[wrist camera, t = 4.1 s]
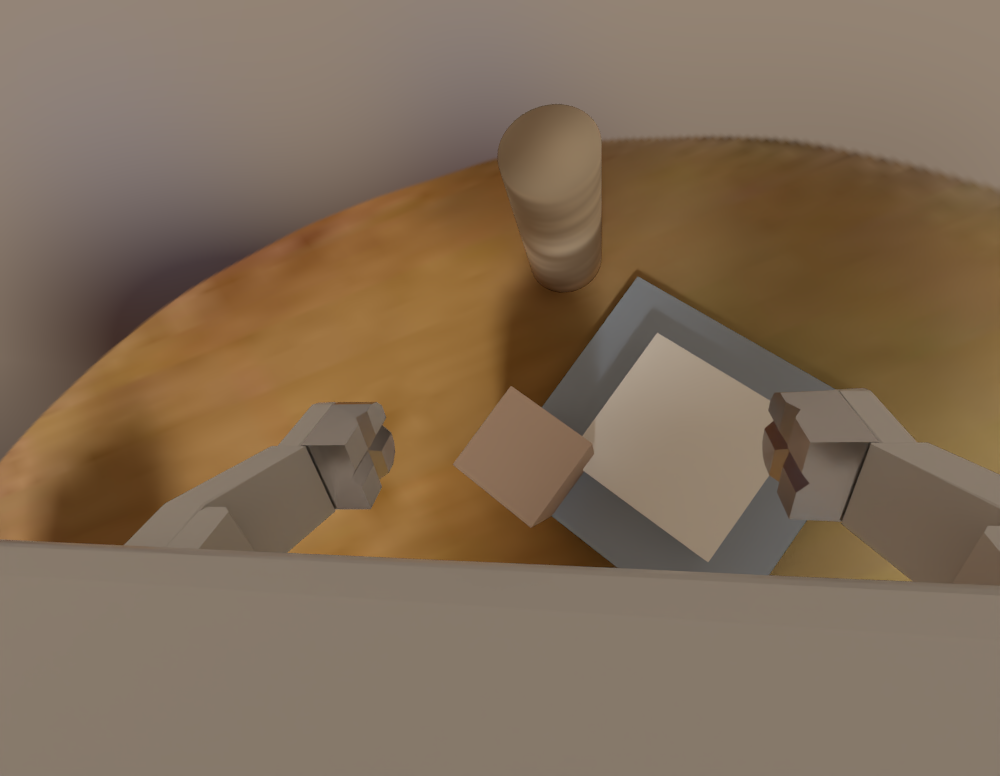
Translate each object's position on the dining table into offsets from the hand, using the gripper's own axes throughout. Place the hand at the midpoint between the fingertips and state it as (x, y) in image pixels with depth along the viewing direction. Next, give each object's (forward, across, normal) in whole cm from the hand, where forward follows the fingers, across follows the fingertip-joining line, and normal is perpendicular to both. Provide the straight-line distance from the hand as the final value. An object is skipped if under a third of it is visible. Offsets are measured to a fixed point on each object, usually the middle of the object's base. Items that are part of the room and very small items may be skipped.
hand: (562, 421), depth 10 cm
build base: (+13, -5, +12) cm, 18 cm away
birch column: (+21, +1, +3) cm, 21 cm away
